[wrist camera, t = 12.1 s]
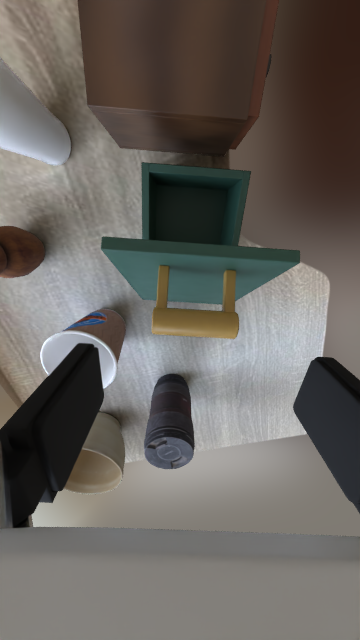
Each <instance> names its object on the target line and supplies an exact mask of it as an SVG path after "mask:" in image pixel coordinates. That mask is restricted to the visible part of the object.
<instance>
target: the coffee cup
mask: <svg viewBox="0 0 360 640" xmlns="http://www.w3.org/2000/svg"><path fill="white" fill-rule="evenodd" d="M125 333H126V325H125V322H124V320H123V318H122V317H121V316H120V315H119V314H118V313H117V312H115V311H113V310H110V309H100V310H97V311H95V312H92V313H90V314H89V315H87V316H85V317H84V318H82V319H81V320H79V321H77V322H76V323H74V324H73V325H71V326H70V327H68V328H66V329H65V330H63V331H62V332H59V333H56V334H54V335H52V336H51V337H49V338H48V339H47V340H46V341H45V343H44V344H43V346H42V349H41V362H42V365H43V368H44V369H45V371H46V373H47V374H48V375H50V374H51V373H52V372H53V370H54V369H55V368H56V367H57V366H58V365H59V364H60V363H61V361H62V360H63V359H64V358H65V357H66V356H67V355H68V354H69V353H70V351H71V350H72V349H73V348H74V347H75V346H76V345H77V344H78V343H90V344H93V345H94V347H97V348H98V350H99V359H100V367H101V375H102V384H103V389H104V388H106V387H107V386H108V385H110V384H111V383H112V382H113V380H114V379H115V377H116V374H117V369H118V366H117V364H118V360H119V356H120V352H121V349H122V345H123V341H124V337H125ZM112 376H113V377H112Z"/></svg>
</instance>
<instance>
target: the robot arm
mask: <svg viewBox="0 0 360 640" xmlns="http://www.w3.org/2000/svg"><path fill="white" fill-rule="evenodd" d="M103 398H104V392H103V384H102V375H101V367H100V359H99V350H98V348H97V347H94V345H93V344H90V343H78V344H77V345H76V346H75V347H74V348H73V349H72V350H71V351H70V353H69V354H68V355H67V356H66V357H65V358H64V359H63V360H62V361H61V363H60V364H59V365H58V366H57V367H56V368H55V369H54V370H53V372H52V373H51V374H50V375H49V376H48V377H47V378H46V379H45V380H44V381H43V382H42V383H41V385H40V386H39V387H38V388H37V389H36V390H35V391H34V392H33V393H32V395H31V396H30V397H29V398H28V399H27V400H26V401H25V402H24V403H23V405H22V406H21V407H20V408H19V409H18V410H17V411H16V412H15V414H14V415H13V416H12V417H11V418H10V419H9V420H8V421H7V423H6V424H5V425H4V426H3V427H2V428H1V429H0V640H360V537H354V536H331V535H304V534H278V533H253V532H226V531H196V530H165V529H164V530H163V529H133V528H94V527H86V528H85V527H82V528H81V527H33V523H32V516H31V514H33V513H34V511H35V509H36V507H37V505H38V504H39V502H49V503H53V500H54V498H55V496H56V494H57V492H58V491H62V490H63V488H64V487H65V485H66V483H67V481H68V479H69V476H70V474H71V472H72V470H73V467H74V465H75V463H76V461H77V458H78V456H79V454H80V452H81V450H82V447H83V445H84V443H85V441H86V438H87V436H88V434H89V432H90V429H91V427H92V425H93V423H94V421H95V418H96V416H97V414H98V412H99V409H100V407H101V405H102V402H103ZM293 408H294V412H295V414H296V416H297V417H298V419H299V421H300V422H301V424H302V426H303V427H304V429H305V430H306V432H307V434H308V435H309V437H310V438H311V440H312V442H313V443H314V445H315V447H316V448H317V450H318V452H319V453H320V455H321V456H322V458H323V460H324V461H325V463H326V464H327V466H328V468H329V469H330V471H331V473H332V474H333V476H334V478H335V479H336V481H337V483H338V484H339V486H340V487H341V489H342V491H343V492H344V494H345V495H346V497H347V498H348V500H349V501H351V502H352V503H353V504H354V505H355V507H356V508H357V510H358V512H359V513H360V380H359V379H357V378H356V377H355V376H354V375H353V374H352V373H350V372H349V371H348V370H347V369H346V368H345V367H343V366H342V365H341V364H340V363H339V362H337V361H336V360H335V359H334V358H329V357H317V358H315V359H314V360H313V361H311V363H310V365H309V368H308V370H307V373H306V375H305V378H304V380H303V383H302V385H301V388H300V390H299V392H298V395H297V397H296V400H295V402H294V405H293Z"/></svg>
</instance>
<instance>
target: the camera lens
mask: <svg viewBox="0 0 360 640" xmlns="http://www.w3.org/2000/svg"><path fill="white" fill-rule="evenodd" d="M194 447H195V446H194V431H193V423H192V417H191V396H190V392H189V387H188V386H187V383H186V381H185V380H184V378H182V377H181V376H179V375H176V374H167V375H164V376H162V377H161V378H160V379H159V380H158V382H157V384H156V386H155V388H154V392H153V395H152V401H151V409H150V416H149V420H148V424H147V429H146V435H145V441H144V450H145V457H146V459H147V461H148V462H149V463H151V464H152V465H154V466H156V467H158V468H163V469H176V468H179V467H182V466H184V465H186V464H187V463H189V462H190V460H191V459H192V458H193V454H194Z"/></svg>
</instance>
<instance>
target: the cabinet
mask: <svg viewBox="0 0 360 640" xmlns="http://www.w3.org/2000/svg"><path fill="white" fill-rule="evenodd" d="M265 4H266V0H78V8H79V19H80V30H81V40H82V51H83V62H84V72H85V83H86V93H87V104H88V107H89V108H90V109H91V111H92V112H93V113H94V115H95V116H96V117H97V118H98V120H99V121H100V122H101V124H102V125H103V126H104V127H105V129H106V130H107V131H108V133H109V134H110V135H111V137H112V138H113V139H114V140H115V142H116V143H117V144H118V146H119V147H120V148H126V149H138V150H150V151H162V152H174V153H186V154H199V155H211V156H223V157H224V156H225V154H226V153H227V151H228V150H229V148H230V146H231V145H232V143H233V142H234V140H235V138H236V137H237V135H238V134H239V132H240V130H241V129H242V127H243V126H244V124H245V123H246V121H247V119H248V113H249V106H250V100H251V94H252V87H253V81H254V74H255V68H256V62H257V55H258V49H259V42H260V36H261V30H262V23H263V17H264V10H265Z"/></svg>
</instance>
